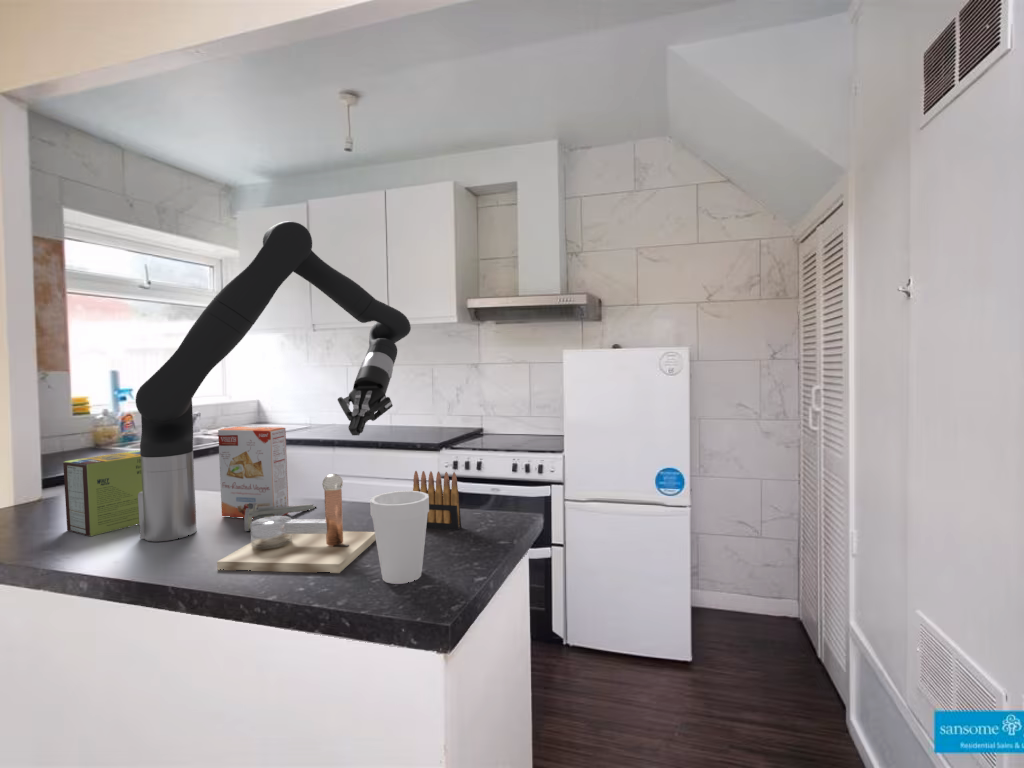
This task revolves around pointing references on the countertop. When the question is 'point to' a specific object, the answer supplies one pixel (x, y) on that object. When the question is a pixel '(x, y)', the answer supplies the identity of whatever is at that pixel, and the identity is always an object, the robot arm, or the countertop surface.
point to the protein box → (102, 492)
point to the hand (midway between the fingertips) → (354, 433)
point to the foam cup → (400, 533)
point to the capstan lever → (303, 521)
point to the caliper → (270, 512)
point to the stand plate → (301, 554)
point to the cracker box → (252, 468)
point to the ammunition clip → (440, 501)
